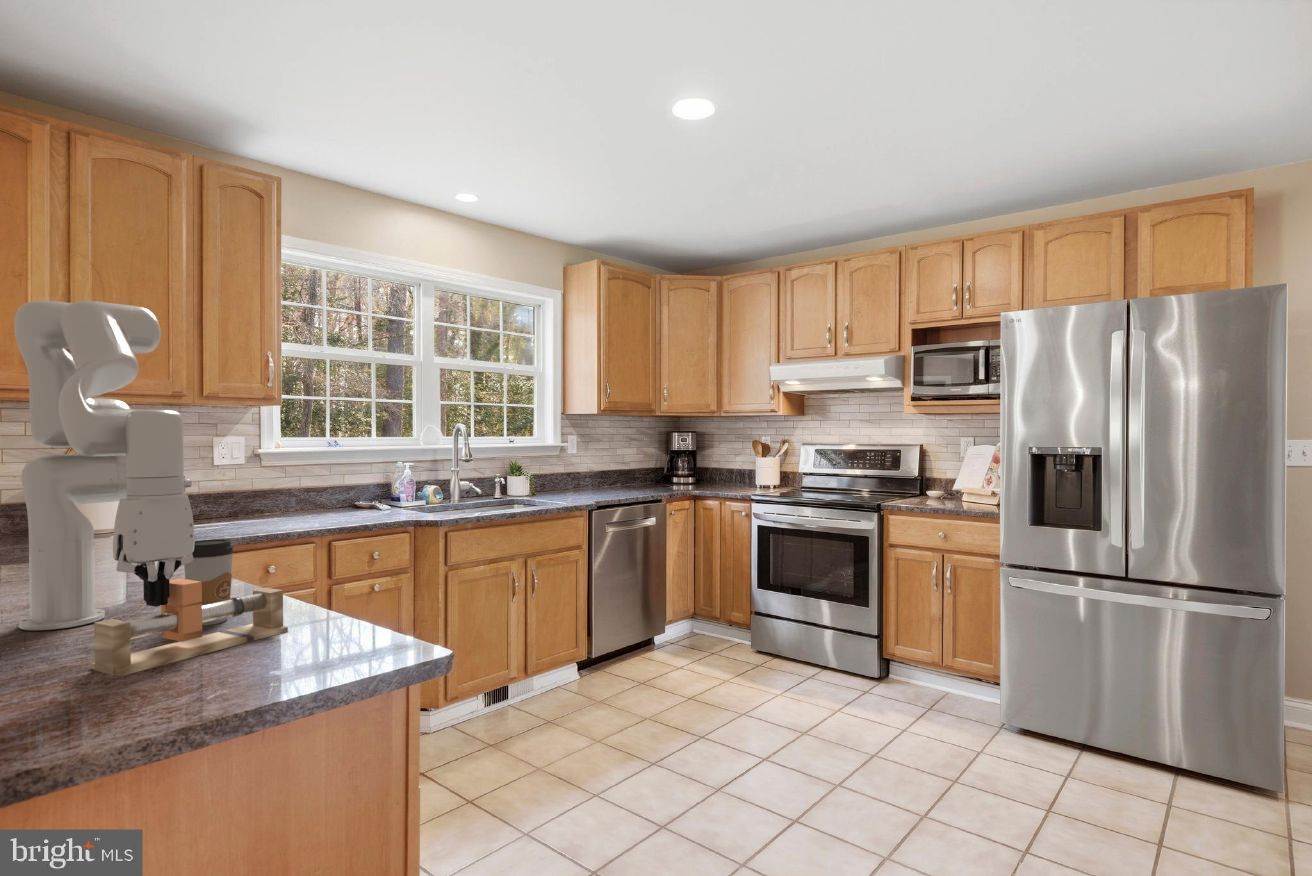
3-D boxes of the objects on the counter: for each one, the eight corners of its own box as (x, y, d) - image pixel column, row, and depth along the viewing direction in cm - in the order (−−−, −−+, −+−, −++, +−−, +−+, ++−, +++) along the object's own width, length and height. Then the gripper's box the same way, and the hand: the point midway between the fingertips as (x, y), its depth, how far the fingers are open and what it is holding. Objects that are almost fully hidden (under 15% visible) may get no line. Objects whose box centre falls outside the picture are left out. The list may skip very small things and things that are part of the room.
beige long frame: (118, 676, 107) (117, 627, 107) (89, 668, 110) (89, 621, 110) (288, 631, 131) (288, 591, 131) (260, 625, 135) (260, 586, 135)
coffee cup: (210, 628, 133) (209, 546, 133) (171, 626, 135) (170, 544, 135) (244, 616, 142) (244, 539, 142) (207, 614, 143) (207, 538, 143)
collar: (183, 641, 116) (182, 585, 116) (161, 637, 119) (160, 581, 119) (202, 637, 118) (201, 581, 118) (180, 632, 121) (179, 578, 121)
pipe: (118, 646, 109) (118, 624, 109) (106, 643, 110) (106, 622, 110) (273, 609, 131) (273, 591, 131) (262, 607, 133) (262, 590, 133)
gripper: (190, 484, 123) (191, 593, 124) (88, 491, 110) (89, 612, 110) (217, 485, 120) (218, 597, 120) (114, 492, 107) (116, 618, 107)
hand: (156, 604), depth 115 cm, fingers closed
